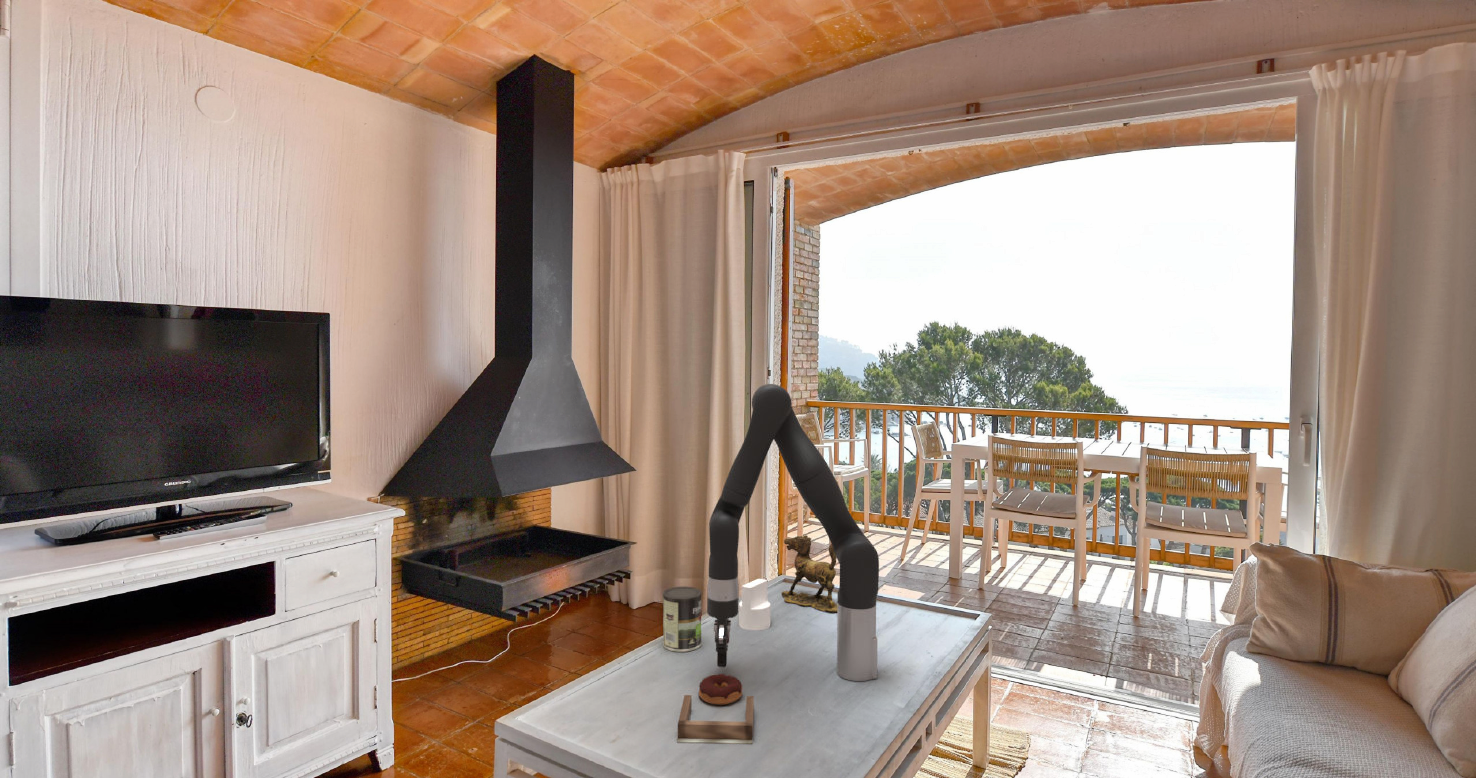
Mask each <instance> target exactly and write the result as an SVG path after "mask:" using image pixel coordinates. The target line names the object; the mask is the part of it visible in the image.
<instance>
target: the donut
mask: <svg viewBox="0 0 1476 778" xmlns="http://www.w3.org/2000/svg"><path fill="white" fill-rule="evenodd" d="M698 687H699V691H698V695H699V697H700V698H701V699H702V701H704V702H706V703H707V704H711V705H717V706H718V705H721V706H725V705H729V704H732V703H734V702H736V701H738V700H739V699H740V698H741V697H742V695H743V685H742V682H741V681H740V679H739V678H737V677H736V676H732V675H726V674H724V673H719V674H712V675H708V676H707V677H705V678H703V679H702V680H701V682H700V683H699V685H698Z"/></svg>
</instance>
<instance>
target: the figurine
mask: <svg viewBox="0 0 1476 778" xmlns="http://www.w3.org/2000/svg"><path fill="white" fill-rule="evenodd" d="M783 543H784V545H786V549H787V551H791V550H792V551H795V552H797V554H796V556H795V558H794V569H795V574H794V575H795V577H794V580H793V581H792V582H793V583H792V584H791V586H790V589H789V590H784V591H781V596H782V598H784V603H786V604H791V605H792V604H793V605H797V606H799V607H802V608H812V609H814V610H817V611H820V612H824V613H827V614H837V603H836V602H835V601H834V600H833V590H834V589H835V584H834V583H833V581H834V579H835V578H836V576H837V571H836V568H835V565H836V564H837V560H838V559H837V557H836V554H835V551H834V549H833V546H832V544H831V543H830V545H829V546H828V554H829V556H830V559H831V562H830V563H829V562H828V561H827V562H826V561H816V560H813V559H812V558H811V556H810V553H811V546H812V538H811V537H808V535H807V534H806V535H800V536H795V537H792V538H784V540H783ZM803 578H804V579H806V580H807V581H808V582H810V583H813V584H816V583H817V582H818V584H819V585H820V586H821V587H819V588H818V589H817V591H816V593H815V594H812V595H810V594H808V593H806V592H799V593H797V592H796V591H794V590H795V587H796V585H797V584H798V583H799V582H802V580H803ZM824 589H826V590H827V595H824V594H823V591H824Z"/></svg>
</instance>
